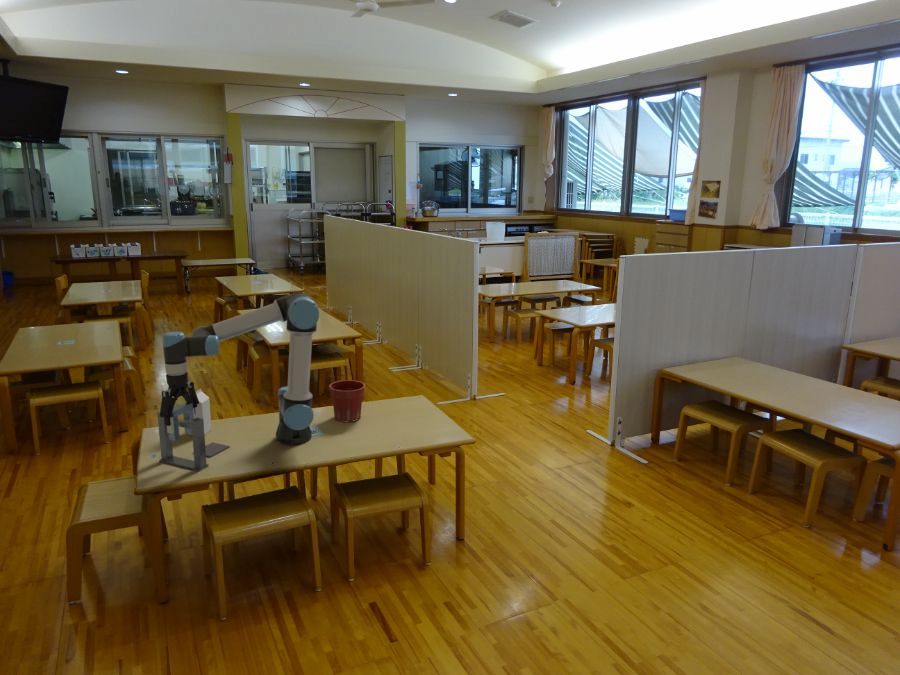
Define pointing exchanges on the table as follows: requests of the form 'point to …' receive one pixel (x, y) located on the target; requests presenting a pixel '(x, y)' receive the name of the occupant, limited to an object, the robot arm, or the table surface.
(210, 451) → the mat
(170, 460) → the rail
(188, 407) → the bracket
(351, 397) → the flower pot
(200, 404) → the milk carton
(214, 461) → the table surface
